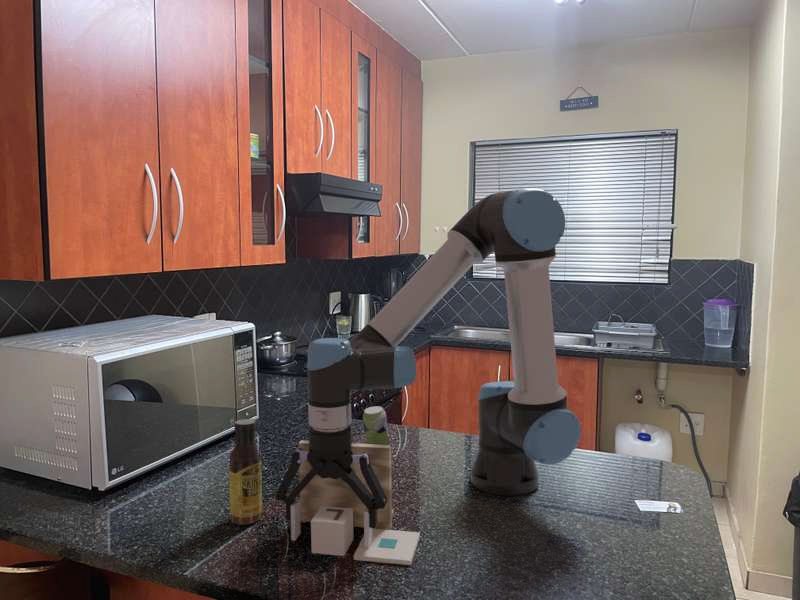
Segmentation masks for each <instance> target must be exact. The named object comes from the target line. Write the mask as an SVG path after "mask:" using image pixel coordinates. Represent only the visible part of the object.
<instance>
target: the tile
mask: <svg viewBox="0 0 800 600" xmlns="http://www.w3.org/2000/svg"><path fill="white" fill-rule="evenodd" d="M420 538H421V532H417V531H406V530H395V529H390V530H389V529H377V528H372V542H371V544H370V546H369V548H367V547H364V535H363V536H362V538H361V540H360V542H359V545H358V547H357V548H356V550H355V552H354V554H353V560H355V561H361V562H372V563H374V562H375V563H383V564H392V565H394V564H395V565H405V566H411V565H412V563H413V560H414V556H415V553H416V551H417V550H416V549H417V546H418V544H419V540H420Z"/></svg>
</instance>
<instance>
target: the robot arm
mask: <svg viewBox="0 0 800 600" xmlns="http://www.w3.org/2000/svg"><path fill="white" fill-rule="evenodd" d="M565 229H566V216H565V212H564V208H563V207H562V205H561V203H560V202H559V201H558V199H557V198H556V197H555V196H553V195H552V193H550V192H549V191H546V190H543V189H540V188H519V189H515V190H509V191H503V192H496V193H492V194H489V195H487V196H485V197H483V198H481V199H480V200H479V201H478V202H477V203H475V204H474V205H473V206H472V207H471V208H470V209H469V210H467V212H466V213H465V214H464V215H463V216H462V217H461V218H460V219H459V220H458V222H456V223H455V225H453V227H452V228H451V229H449V231H448V232H447V240H446V241H445V242H443V244H442V245H441V246H440V247H439V248H438V249H437V250H436V251H435V252H434V254H433V255H431V257H430V258H429V259H428V260H427V261H426V262H425V263H424V264H423V265H422V266H421V267H420V268H419V269H418V271H416V273H414V274H413V276H411V278H410V279H409V280H408V281H407V282H406V283H405V284H404V285H403V286H402V287H401V288H400V289H399V290H398V292H396V293H395V295H393V297H392V298H390V300H389V301H388V302H387V303H386V304H385V305H384V306H383V307H382V308H381V309H380V310H379V312H377V313H376V315H375V316H373V318H371V320H370V321H369V322H368V323H367V324H366V325H365V326H364V327H363V328H362V329H361V330H360V331H359V332H358V333H355V334H354V333H353V334H350V335H349V336H347V337H345V338H340V337H326V338H325V337H324V338H323V337H322V338H318V339H314V340H312V341H310V343H309V345H308V347H307V348H308V349H307V350H308V351H307V365H306V368H307V388H308V389H307V391H308V402H307V403H308V425H309V426H310V427H309V429H308V441H309V452H306V451H303V450H302V449H301V448H299V447H297V448H296V449H295V450H294V451H293V452H292V454H291V460H290V465H289V468H288V469H287V472H286V473H285V475H284V477H283V480H282V482H281V483H280V486H279V487H278V490H277V492H276V494H275V500H276V501H282V502H284V504H285V518H286V521H288V522H289V521H290V539H291V540H290V541H294V542H295V541H297V539H298V538H299V536H300V535H301V516H300V499H298V498H297V497H298V496H299V495H300V492H301V491H302V490H303V489H304V488H305V486H306V485H307V484H308V483H309V482H310V481H311V480H312V479H313V477H314V476H315V475H316V474H317V475H318V476H320V477H321V478H332V479H338V478H340V477H341V479H342V480H343V481H344V482H345V483H347V484H348V485H349V486H350V488H351V489H352V490H353V491H354V492H355V494H356V495H357V496H358V497H359V499H360V500H361V501H362V502H363V504H364V505H365V506H366V507H367V508H366V510H365V511H364V527H363V531H364V532H363V533H364V534H363V536H364V547H367V548H369V546H370V544H371V542H372V528H373V529H376V528H375V526H376V524H377V509H383V508H384V507H385V505H386V503H387V501H388V499H387V497H386V495H385V493H384V491H383V489H382V487H381V485H380V483H379V481H378V479H377V477H376V475H375V473H374V471H373V469H372V467H371V465H370V457H369V454H368V453H367V452H364V453H363V454H361V455H353V453H352V450H351V443H352V427H351V426H350V425H351V423H352V392H362V391H371V390H373V391H376V390H385V389H386V390H387V389H397V388H404V387H409V386H411V385H412V384H413V383H414V382H415V380H416V378H417V377H416V376H417V366H418V365H417V360H416V359H417V358H416V356H415V352H414V351H413V349H412V348H411V347H410V346H405V345H399V344H401V342H402V341H403V340H405V338H406V337H407V336H408V334H410V333H411V331H413V329H414V328H416V326H417V325H418V324H419V323H420V322H421V321H422V320H423V319H424V317H425V316H427V314H428V313H429V312H430V311H431V310H432V309H433V308H434V307H435V306H436V305H437V304H438V303H439V302H440V301H441V300H442V298H443V297H444V296H445V295H447V293H448V292H449V291H450V290H451V289H452V288H453V287H454V286H455V285H456V283H458V281H459V280H461V278H462V277H463V276H464V275H465V274H466V273H467V272H468V271H469V270H470V269H471V268H472V266H473V265H481V264H482V263H483V262H484V261H485V260H486V259H487V257H489V256H490V255H492V254H493V253H494V260H495V264H497V265H498V266H499V267H500V268H501V269H502V270H503V273H504V283H505V284H504V285H505V294H506V296H505V297H506V306H507V308H506V309H507V320H508V326H509V327H508V330H509V340H510V350H511V361H512V374H513V380H505V381H492V382H487V383H483V384H482V385H481V386H480V388H479V391H478V399H477V402H478V449H477V451H476V455H475V457H474V461H473V462H472V463H473V464H472V466H471V470H470V482H471V484H472V486H473V487H475V488H476V489H477V490H479V491H482V492H485V493H487V494H492V495H496V496H510V497H511V496H521V495H526V494H530V493H532V492H534V491H535V490H537V488H538V487H539V472H538V469H537V465H536V463H535V461H536V462H538V463H539V464H543V465H556V464H560V463H561V462H564V461H565V460H566V459H567V458H569V457H571V455H572V453H573V451H574V450H576V448H577V447H578V445H579V443H580V439H581V433H582V429H581V428H582V426H581V422H580V420H579V418H578V417H577V416H576V415H575V414H574V412H572V411H571V410H569V407H568V405H569V404H568V399H567V398H568V396H567V394H568V393H567V391H566V389H564V388H563V387H562V386H561V385H560V384H559V378H558V368H557V367H558V366H557V355H556V342H555V331H554V330H555V329H554V328H555V327H554V319H553V318H554V316H553V308H552V307H553V305H552V293H551V292H552V291H551V290H552V289H551V281H550V280H551V279H550V267H549V266H550V264H552V262H553V261H554V260H555V259H556V255H557V254H556V253H557V252H556V246H557V245H558V244H559V243H560V241H561V238H562V237H563V236H564V233H565ZM305 459H307V460H308V462H309V463H310V465H311V466H312V469H311V471H310V472H309V473H308V474H307V475H306V476H305V477H304V479H303V480H302V481H301V482H300V481H299V483H298V484H297V485H296V487H295V488H293V490H292V491H291V492H289V491H288V490H289V489H290V486H291V484H292V482H293V481H294V478H295V476H296V474H297V472H298V471H299V466H300V464H301V463H303V462H304V461H305ZM353 462H355V463H356V464H357V466H358V467H359V468H360V469H361V472H362V474H363V477H364V479H365V481H366V483H367V485H368V487H369V489H370V491H371V493H372V494H371V493H370V491H369V490H368V489H367V488H366V486H365V485H364V484H363V483H362V481H361V480H360V479H359V478H358V477H357V475H356V474H355V471H354V470H353V468H352V467H351V466H350V465H351V464H352V463H353ZM296 498H297V499H296Z"/></svg>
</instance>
